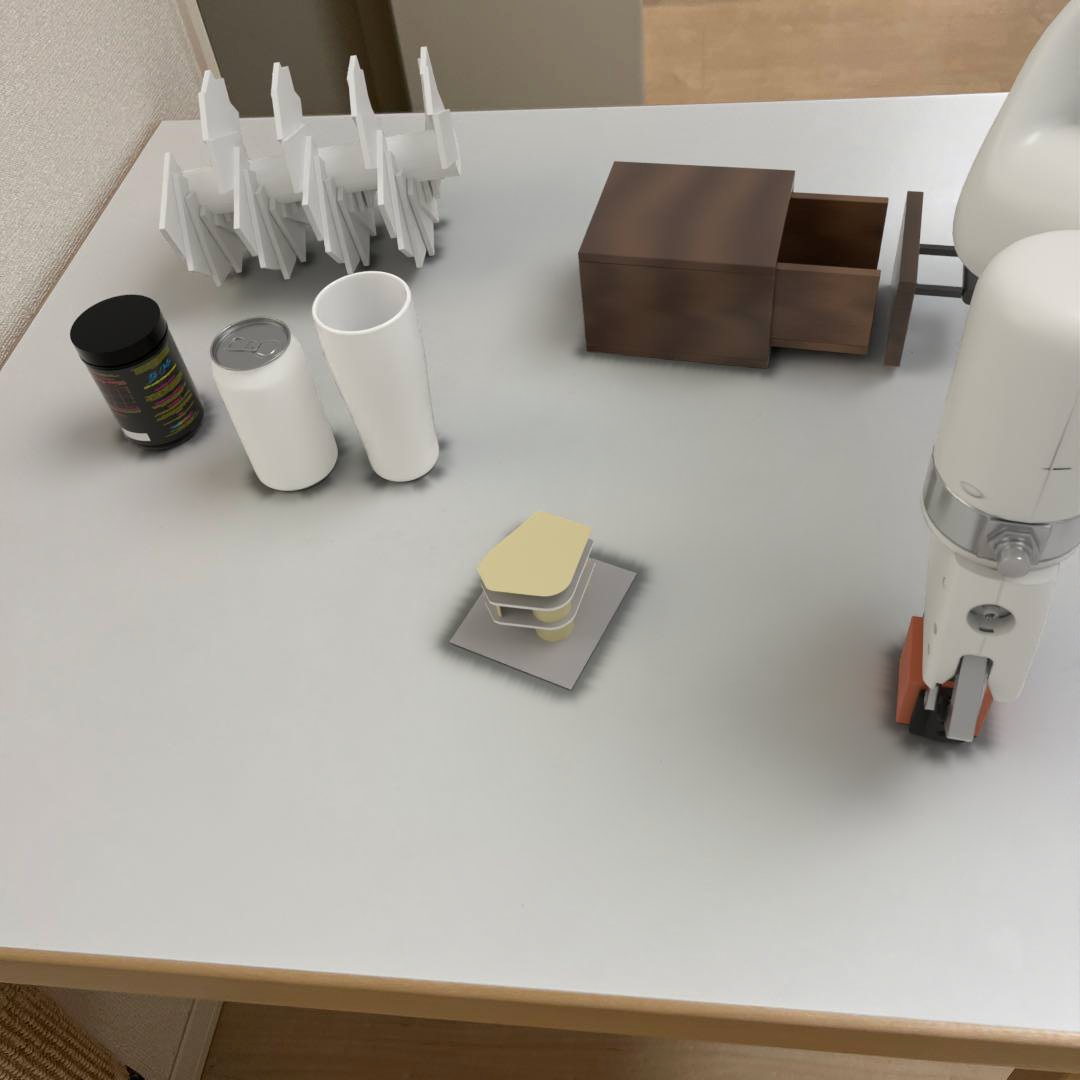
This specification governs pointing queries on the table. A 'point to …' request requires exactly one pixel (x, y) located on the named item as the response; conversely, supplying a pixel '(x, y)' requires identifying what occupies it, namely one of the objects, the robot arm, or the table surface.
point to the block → (914, 681)
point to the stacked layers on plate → (543, 600)
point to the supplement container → (139, 370)
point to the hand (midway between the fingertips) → (939, 693)
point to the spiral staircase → (306, 183)
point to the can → (273, 403)
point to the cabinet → (684, 262)
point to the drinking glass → (380, 369)
